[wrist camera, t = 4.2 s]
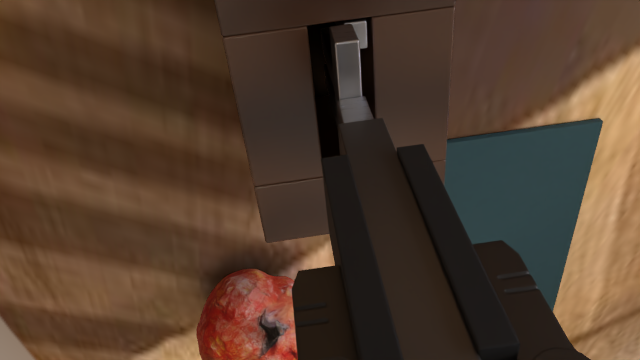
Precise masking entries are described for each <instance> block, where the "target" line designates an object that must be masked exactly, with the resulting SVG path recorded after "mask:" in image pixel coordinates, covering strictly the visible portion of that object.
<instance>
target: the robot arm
mask: <svg viewBox="0 0 640 360" xmlns="http://www.w3.org/2000/svg"><path fill="white" fill-rule="evenodd" d="M397 155H398V157H399V160H400V162H401V165H402V167H403V169H404V172H405V174H406V177H407V179H408V182H409V184H410V187H411V189H412V192H413V194H414V197H415V199H416V202H417V204H418V207H419V209H420V212H421V214H422V217H423V219H424V222H425V224H426V227H427V229H428V231H429V234H430V236H431V239H432V241H433V244H434V246H435V249H436V251H437V254H438V256H439V259H440V261H441V264H442V266H443V269H444V271H445V274H446V276H447V279H448V281H449V284H450V286H451V289H452V291H453V293H454V296H455V298H456V301H457V303H458V306H459V308H460V311H461V313H462V316H463V318H464V321H465V323H466V326H467V328H468V331H469V333H470V336H471V338H472V341H473V343H474V346H475V348H476V351H477V353H478V355H479V356H480V359H481V360H590V359H589V358H588V357H586V356H585V355H583V354H582V353H580V352H578V351H577V350H576V349H575V348H574V347H573V345H572V344H571V343H570V341H569V340H568V338H567V336H566V335H565V333H564V331H563V329H562V328H561V326H560V324H559V322H558V321H557V319H556V317H555V315H554V314H553V312H552V310H551V308H550V307H549V305H548V303H547V302H546V300H545V298H544V296H543V295H542V293H541V291H540V289H538V288H537V284H536V282H535V281H534V279H533V277H532V275H530V274H529V270H528V268H527V267H526V265H525V263H524V261H523V260H522V258H521V256H520V254H519V253H517V252H516V251H515V250H514V249H512V248H511V247H510V246H509V245H508V244H506V243H505V242H504V241H503V240H498V241H491V242H484V243H478V244H472V242H471V240H470V238H469V236H468V234H467V232H466V230H465V228H464V226H463V224H462V222H461V220H460V218H459V216H458V214H457V211H456V209H455V207H454V205H453V203H452V201H451V199H450V197H449V195H448V193H447V191H446V189H445V187H444V185H443V183H442V181H441V179H440V176H439V174H438V172H437V170H436V168H435V166H434V164H433V162H432V160H431V158H430V156H429V154H428V152H427V150H426V148H425V146H424V144H418V145H411V146H404V147H397ZM321 165H322V174H323V183H324V192H325V200H326V209H327V218H328V227H329V234H330V239H331V245H332V250H333V256H334V261H335V266H330V267H323V268H316V269H309V270H302V271H298V274H297V276H296V279H295V281H294V284H293V286H292V300H293V310H294V323H295V334H296V345H297V356H298V360H404V359H403V355H402V351H401V348H400V344H399V340H398V337H397V333H396V329H395V326H394V322H393V318H392V315H391V311H390V307H389V304H388V300H387V296H386V293H385V289H384V285H383V282H382V278H381V274H380V271H379V267H378V263H377V259H376V256H375V252H374V248H373V245H372V241H371V237H370V234H369V230H368V226H367V223H366V219H365V215H364V212H363V208H362V204H361V201H360V197H359V193H358V190H357V186H356V182H355V179H354V175H353V171H352V168H351V164H350V160H349V157H348V154H347V155H340V156H333V157H326V158H321Z"/></svg>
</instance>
